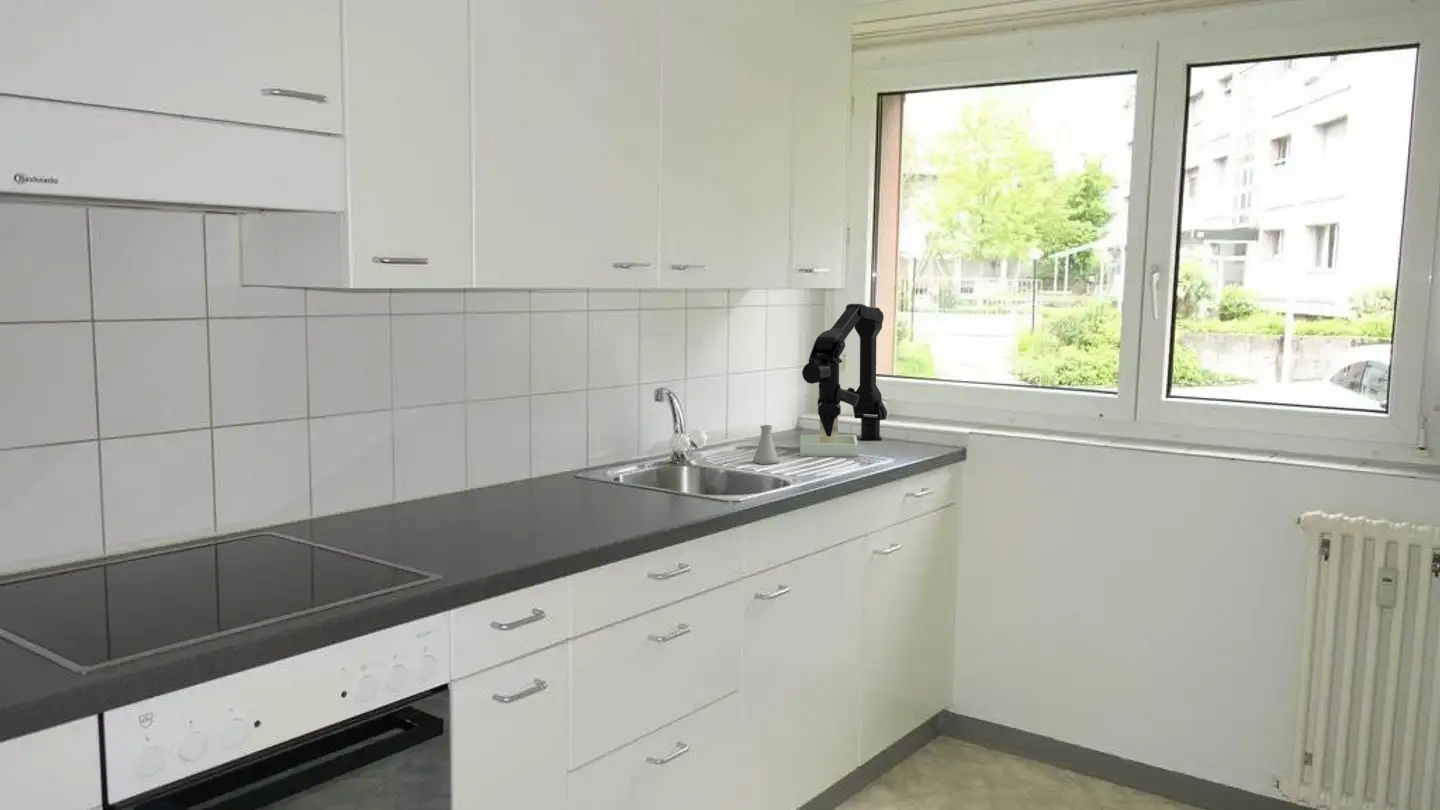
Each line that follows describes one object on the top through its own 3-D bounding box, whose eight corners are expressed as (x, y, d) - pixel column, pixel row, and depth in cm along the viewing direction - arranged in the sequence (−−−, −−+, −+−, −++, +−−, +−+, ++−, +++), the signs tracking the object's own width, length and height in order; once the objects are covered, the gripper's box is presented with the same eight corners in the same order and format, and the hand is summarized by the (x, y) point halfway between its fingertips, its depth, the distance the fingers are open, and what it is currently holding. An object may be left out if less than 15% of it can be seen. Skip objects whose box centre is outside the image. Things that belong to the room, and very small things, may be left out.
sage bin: (800, 446, 327) (800, 434, 327) (855, 447, 326) (855, 435, 326) (800, 456, 312) (800, 444, 311) (858, 456, 310) (858, 444, 310)
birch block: (819, 439, 321) (819, 415, 320) (837, 439, 321) (837, 415, 320) (819, 442, 316) (820, 418, 315) (837, 442, 316) (837, 418, 315)
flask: (748, 461, 305) (748, 424, 304) (772, 459, 308) (772, 423, 307) (760, 465, 299) (760, 428, 297) (784, 463, 302) (784, 426, 300)
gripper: (859, 383, 306) (858, 440, 308) (856, 376, 325) (856, 429, 327) (818, 383, 307) (818, 440, 309) (817, 376, 326) (817, 429, 328)
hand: (828, 434), depth 318 cm, fingers closed on birch block, 5 cm apart
